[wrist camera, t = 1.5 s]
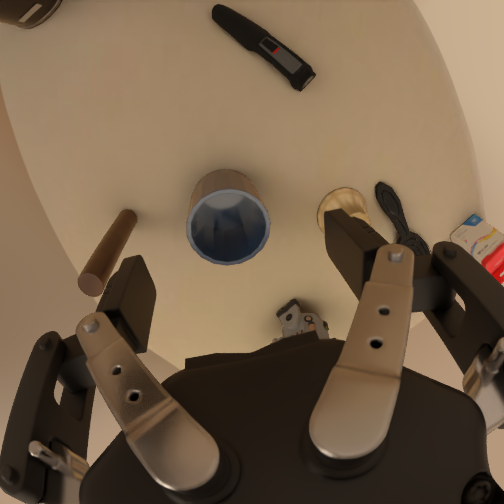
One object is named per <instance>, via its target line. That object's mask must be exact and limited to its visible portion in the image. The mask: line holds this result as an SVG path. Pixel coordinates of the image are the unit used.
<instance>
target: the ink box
mask: <svg viewBox="0 0 504 504" xmlns="http://www.w3.org/2000/svg"><path fill="white" fill-rule="evenodd" d="M450 237H451V242H453V243H456V244H458V245H460V246H461V247H462V248H464V249H465V250H466V251H467V252H468V253H469V254H470V255H471V256H472V257H474V258H475V259H476V260H477V261H478V262H479V263H480V264H481V265H482V266H483V267H484V268H485V269H486V270H487V271H488V272H489V273H490V274H491V275H492V276H493V277H494V278H495V279H496V280H497V281H498V282H499V283H500V284H502V283H503V282H504V275H503V276H502V277H500V274H501V273H502V272H503V271H504V234H502V233H501V232H499V231H498V230H497V229H495V228H494V227H492V226H491V225H490V224H488V223H487V222H485V221H484V220H483V219H481V218H480V217H478V216H477V215H475V214H474V215H472V216H471V217H470V218H469V219H468V220H467V221H466V222H465V223H463V224H462V225H461V226H460V227H459V228H458V229H457V230H455V231H454V232H453V233H452V234H451V235H450Z"/></svg>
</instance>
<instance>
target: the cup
mask: <svg viewBox="0 0 504 504" xmlns="http://www.w3.org/2000/svg"><path fill="white" fill-rule="evenodd" d="M269 232H270V219H269V215H268V212H267V209H266V207H265V205H264V203H263V201H262V199H261V198H260V196H259V194H258V192H257V190H256V188H255V186H254V185H253V184H252V182H251V181H250V180H249V179H248V178H247V177H246V176H245V175H243V174H241V173H239V172H237V171H234V170H226V169H224V170H217V171H214V172H211V173H209V174H207V175H206V176H204V177H203V178H202V179H201V180H200V181H199V182H198V183H197V185H196V186H195V188H194V190H193V193H192V196H191V201H190V206H189V212H188V217H187V237H188V239H189V242H190V244H191V246H192V248H193V249H194V250H195V251H196V252H197V253H198V254H199V255H200V256H201V257H202V258H204V259H206V260H208V261H210V262H212V263H214V264H220V265H234V264H240V263H243V262H245V261H247V260H249V259H251V258H253V257H254V256H255V255H256V254H257V253H258V252H259V251H260V250H262V249H263V247H264V245H265V243H266V241H267V239H268V237H269Z"/></svg>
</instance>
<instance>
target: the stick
mask: <svg viewBox="0 0 504 504" xmlns="http://www.w3.org/2000/svg"><path fill="white" fill-rule="evenodd" d="M136 223H137V216H136V214H135V213H134V212H133V211H131V210H128V209H126V210H123V211H122V212H121V213H120V214H119V215H118V217H117V218H116V220H115V221H114V223H113V224H112V225H111V227H110V228H109V230H108V231H107V233H106V234H105V236H104V237H103V239H102V240H101V242H100V243H99V245H98V246H97V248H96V250H95V251H94V253H93V254H92V256H91V257H90V259H89V261H88V262H87V264H86V266H85V267H84V269H83V271H82V272H81V274H80V276H79V277H78V286H79V288H80V289H81V291H83V293H85V294H86V295H88V296H92V297H96V296H99V295H101V294H102V292H103V290H104V288H105V286H106V283H107V281H108V279H109V277H110V275H111V273H112V270H113V268H114V266H115V264H116V262H117V260H118V258H119V256H120V254H121V252H122V250H123V248H124V246H125V244H126V242H127V240H128V238H129V236H130V234H131V232H132V230H133V228H134V226H135V225H136Z"/></svg>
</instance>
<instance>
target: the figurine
mask: <svg viewBox="0 0 504 504" xmlns="http://www.w3.org/2000/svg"><path fill="white" fill-rule="evenodd" d="M299 306H300V305H299V302H298V301H297V300H295V299H294V300H291V301H290V303H288V304H287V306H285V307H284V308H282V309H281V310H279V311H278V313H277V314H276V315H277V317H278V318H279V319H280V321H281V323H282V325H283V330H282V332H283V337H280V338H279V339H278V340H277V339H273V342H272V343H274V342H276V341H279V340H281V339H283V338H286V337H290V336H294V335H298V334H302V333H305V332H309V331H313V330H316V332H317V335H318V337H319V339H329V335H328V330H329V328H328V324H327V322H325V321H323V320H322V319H321V318H319V317H318V316H317V315H316V314H314V313H300V309H299ZM332 339H336V338H332ZM272 343H271V344H272Z"/></svg>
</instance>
